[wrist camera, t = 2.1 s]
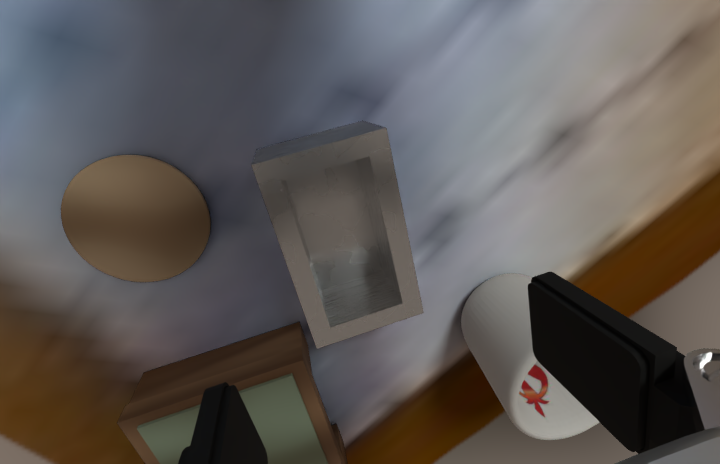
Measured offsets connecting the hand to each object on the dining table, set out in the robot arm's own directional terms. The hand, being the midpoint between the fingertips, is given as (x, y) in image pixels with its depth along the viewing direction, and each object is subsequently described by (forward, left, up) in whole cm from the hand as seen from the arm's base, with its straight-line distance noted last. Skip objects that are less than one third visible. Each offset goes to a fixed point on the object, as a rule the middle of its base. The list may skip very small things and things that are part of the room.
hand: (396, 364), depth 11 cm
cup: (+10, +11, -13) cm, 20 cm away
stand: (+11, -9, -12) cm, 19 cm away
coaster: (-4, -10, -12) cm, 16 cm away
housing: (-1, 0, -13) cm, 12 cm away
